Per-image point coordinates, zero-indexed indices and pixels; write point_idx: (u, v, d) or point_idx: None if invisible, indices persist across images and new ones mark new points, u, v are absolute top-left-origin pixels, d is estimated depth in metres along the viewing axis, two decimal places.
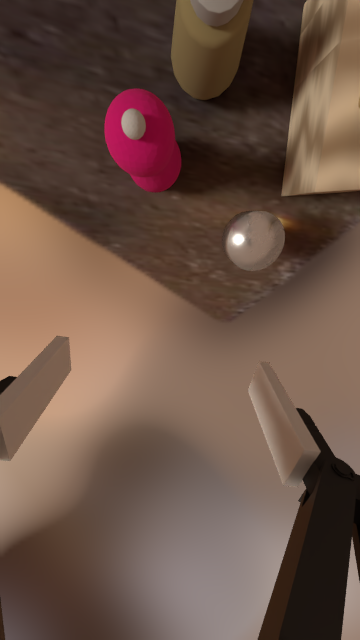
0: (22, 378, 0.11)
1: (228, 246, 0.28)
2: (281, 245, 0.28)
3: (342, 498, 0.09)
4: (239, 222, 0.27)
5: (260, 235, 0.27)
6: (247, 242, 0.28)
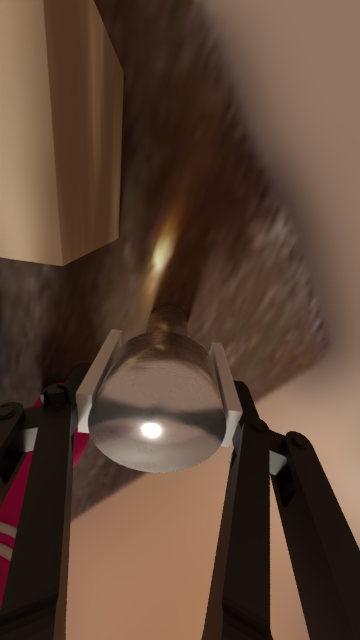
0: (97, 364, 0.13)
1: (155, 470, 0.13)
2: (176, 384, 0.10)
3: (260, 450, 0.10)
4: (109, 453, 0.12)
5: (142, 421, 0.11)
6: (153, 444, 0.12)
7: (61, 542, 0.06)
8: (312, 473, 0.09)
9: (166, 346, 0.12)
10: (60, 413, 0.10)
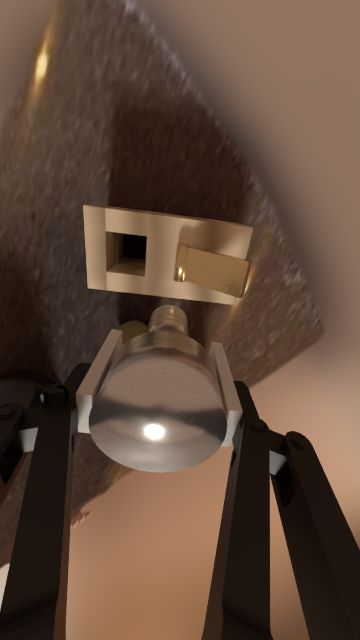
0: (97, 364, 0.13)
1: (156, 470, 0.13)
2: (177, 383, 0.10)
3: (260, 450, 0.10)
4: (110, 453, 0.12)
5: (143, 421, 0.11)
6: (154, 444, 0.12)
7: (61, 542, 0.06)
8: (312, 473, 0.09)
9: (167, 346, 0.12)
10: (60, 413, 0.10)
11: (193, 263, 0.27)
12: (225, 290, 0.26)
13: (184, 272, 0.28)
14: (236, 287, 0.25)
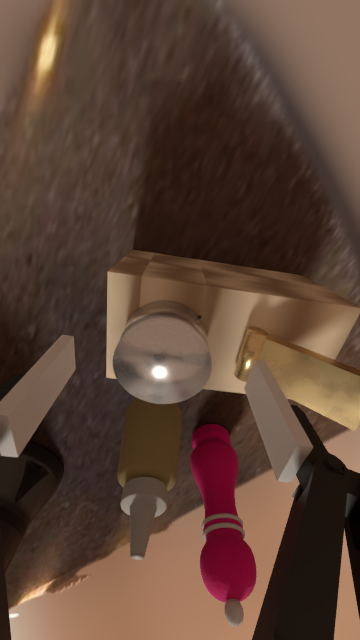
0: (29, 376, 0.12)
1: (161, 402, 0.17)
2: (175, 329, 0.15)
3: (334, 492, 0.09)
4: (127, 387, 0.17)
5: (151, 360, 0.16)
6: (159, 379, 0.16)
7: None
8: None
9: (168, 308, 0.17)
10: None
11: (273, 361, 0.18)
12: (328, 412, 0.17)
13: None
14: (350, 414, 0.16)
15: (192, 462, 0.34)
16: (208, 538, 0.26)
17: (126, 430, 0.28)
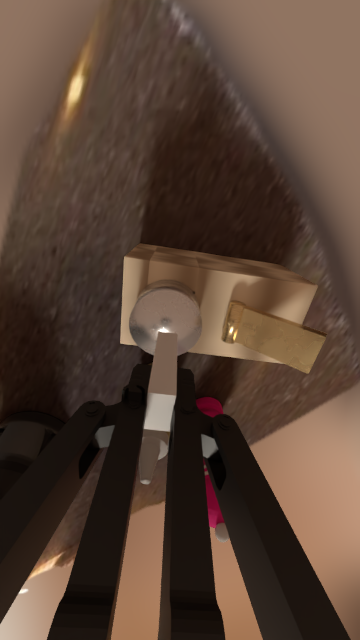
0: (157, 364, 0.14)
1: None
2: (175, 296, 0.20)
3: (192, 431, 0.10)
4: (139, 343, 0.22)
5: (157, 320, 0.21)
6: None
7: (122, 542, 0.07)
8: (239, 451, 0.10)
9: (169, 284, 0.22)
10: (135, 412, 0.11)
11: (250, 325, 0.24)
12: (289, 362, 0.22)
13: (235, 332, 0.25)
14: (304, 361, 0.21)
15: None
16: None
17: None
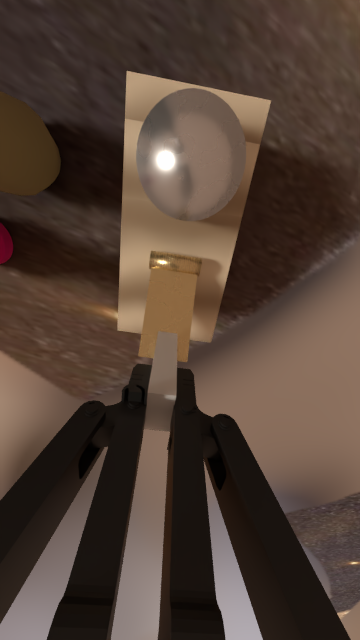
0: (156, 364, 0.14)
1: (138, 157, 0.14)
2: (237, 178, 0.15)
3: (192, 431, 0.10)
4: (160, 107, 0.13)
5: (201, 147, 0.14)
6: (173, 157, 0.14)
7: (122, 542, 0.07)
8: (239, 451, 0.10)
9: None
10: (135, 412, 0.11)
11: (177, 284, 0.20)
12: (146, 334, 0.19)
13: (163, 268, 0.20)
14: (152, 349, 0.19)
15: None
16: None
17: None
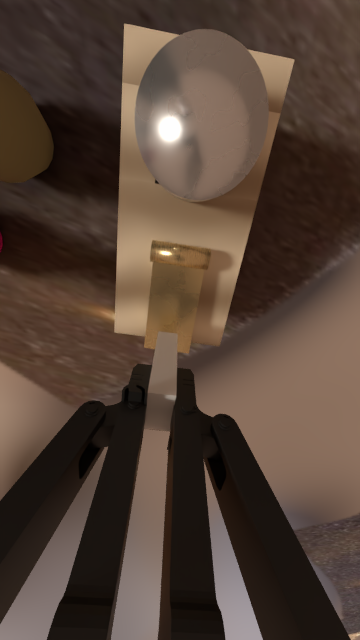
0: (157, 364, 0.14)
1: (136, 120, 0.12)
2: (257, 147, 0.12)
3: (192, 431, 0.10)
4: (164, 54, 0.11)
5: (214, 107, 0.11)
6: (180, 119, 0.12)
7: (122, 542, 0.07)
8: (239, 451, 0.10)
9: None
10: (135, 412, 0.11)
11: (182, 280, 0.18)
12: (150, 330, 0.20)
13: (167, 262, 0.18)
14: None
15: None
16: None
17: None
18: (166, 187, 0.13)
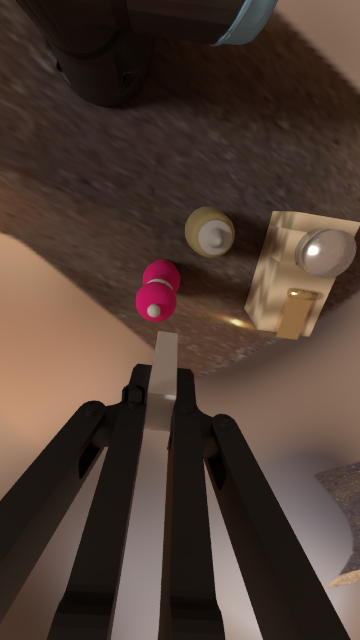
0: (157, 364, 0.14)
1: (308, 254, 0.33)
2: (350, 261, 0.34)
3: (192, 431, 0.10)
4: (323, 236, 0.32)
5: (337, 250, 0.33)
6: (324, 253, 0.33)
7: (122, 542, 0.07)
8: (239, 451, 0.10)
9: None
10: (135, 412, 0.11)
11: (301, 305, 0.40)
12: (281, 328, 0.41)
13: (296, 297, 0.39)
14: (282, 334, 0.42)
15: (166, 263, 0.42)
16: None
17: None
18: (313, 274, 0.34)
